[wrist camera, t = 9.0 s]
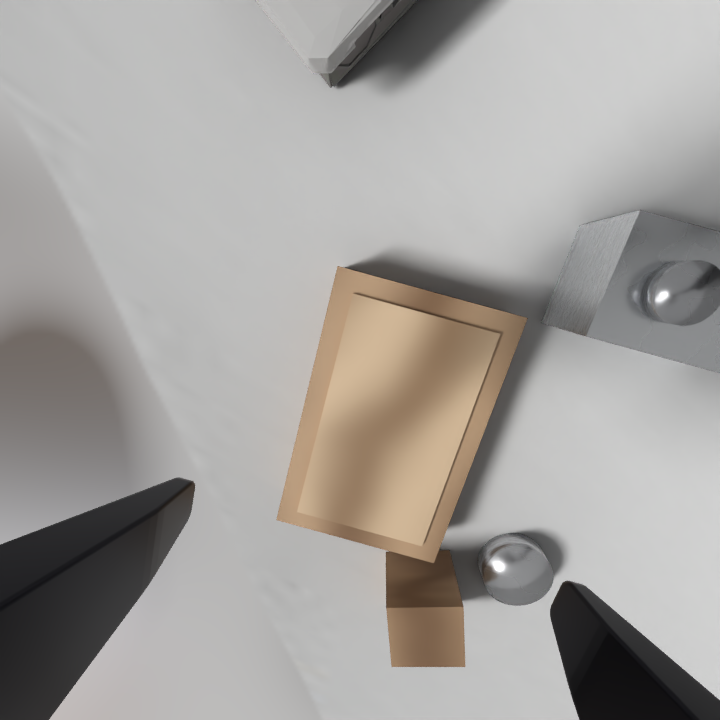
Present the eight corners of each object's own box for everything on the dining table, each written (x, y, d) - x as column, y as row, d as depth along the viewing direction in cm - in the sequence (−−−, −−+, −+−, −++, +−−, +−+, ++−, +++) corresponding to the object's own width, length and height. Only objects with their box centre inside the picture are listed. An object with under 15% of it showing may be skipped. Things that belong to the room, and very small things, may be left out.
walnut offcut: (449, 549, 22) (463, 606, 18) (451, 601, 23) (465, 666, 19) (385, 551, 23) (386, 607, 19) (390, 602, 23) (391, 666, 20)
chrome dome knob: (552, 540, 22) (564, 559, 20) (528, 591, 23) (538, 612, 21) (489, 523, 22) (496, 541, 20) (468, 575, 23) (474, 595, 21)
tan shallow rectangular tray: (508, 312, 19) (529, 318, 16) (428, 531, 22) (434, 566, 19) (343, 267, 19) (336, 265, 16) (288, 492, 22) (275, 522, 19)
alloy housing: (733, 268, 18) (873, 265, 12) (685, 362, 19) (795, 394, 14) (577, 226, 18) (656, 205, 13) (539, 322, 19) (597, 339, 14)
